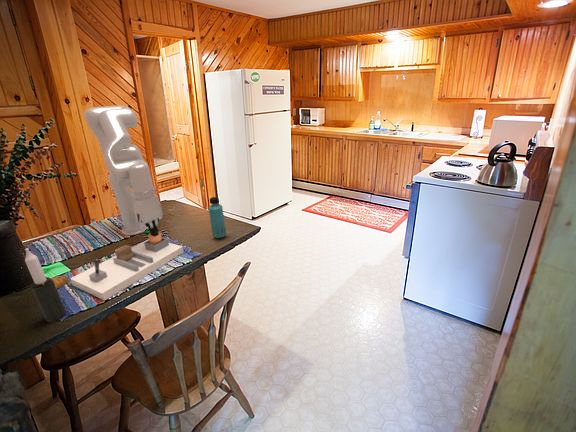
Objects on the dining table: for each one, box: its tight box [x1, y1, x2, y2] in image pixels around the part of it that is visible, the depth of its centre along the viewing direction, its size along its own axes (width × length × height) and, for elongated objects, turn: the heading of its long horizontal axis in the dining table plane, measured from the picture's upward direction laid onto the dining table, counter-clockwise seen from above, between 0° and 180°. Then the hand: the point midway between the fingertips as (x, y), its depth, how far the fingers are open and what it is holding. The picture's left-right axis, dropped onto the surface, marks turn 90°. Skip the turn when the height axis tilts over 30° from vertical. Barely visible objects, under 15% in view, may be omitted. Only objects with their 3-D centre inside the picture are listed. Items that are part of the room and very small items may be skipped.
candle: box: [24, 247, 67, 324], centre depth 94 cm, size 5×5×25 cm
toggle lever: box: [93, 258, 101, 274], centre depth 110 cm, size 2×2×7 cm
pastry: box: [49, 275, 69, 290], centre depth 114 cm, size 9×7×4 cm
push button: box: [147, 231, 163, 245], centre depth 132 cm, size 5×5×4 cm
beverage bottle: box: [208, 196, 227, 239], centre depth 142 cm, size 6×7×20 cm
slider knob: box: [114, 244, 134, 261], centre depth 123 cm, size 3×5×5 cm, turn 151°
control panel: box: [70, 237, 184, 302], centre depth 123 cm, size 20×36×6 cm, turn 151°
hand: (154, 234), depth 131 cm, fingers closed
